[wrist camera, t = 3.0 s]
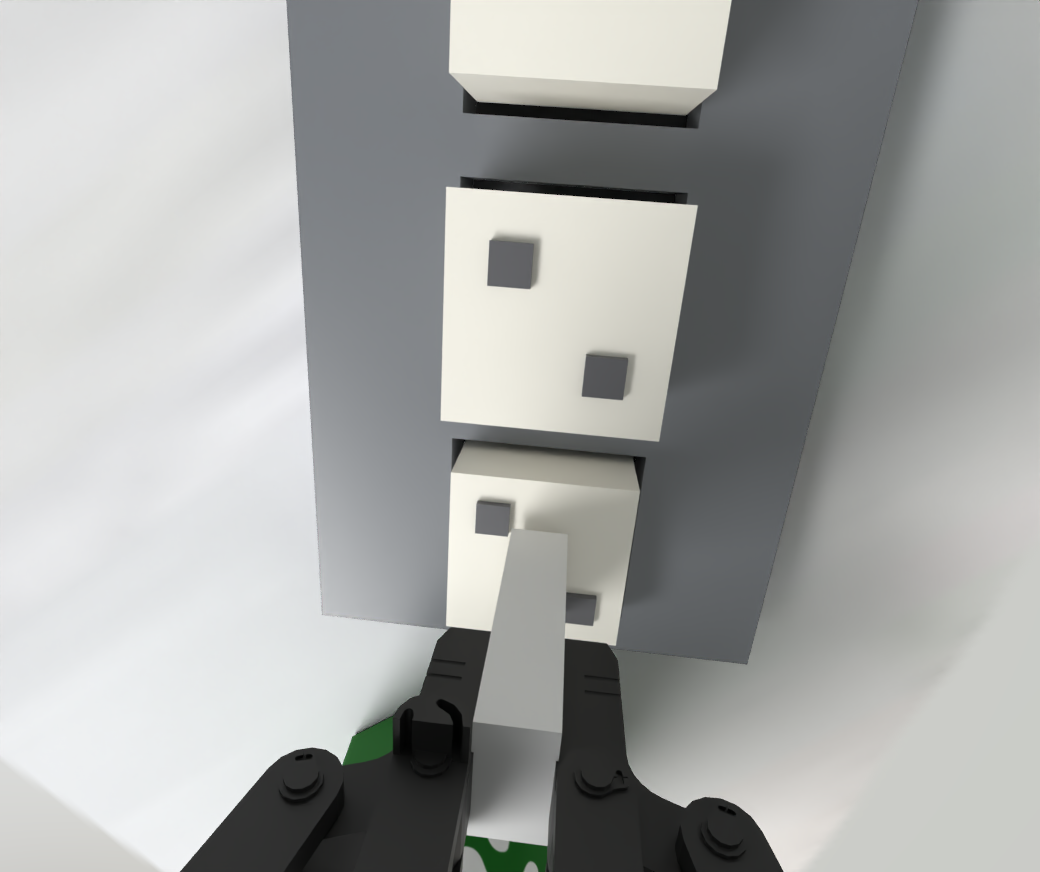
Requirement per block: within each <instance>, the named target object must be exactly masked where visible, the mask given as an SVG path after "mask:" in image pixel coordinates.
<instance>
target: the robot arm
mask: <svg viewBox="0 0 1040 872" xmlns="http://www.w3.org/2000/svg"><path fill="white" fill-rule="evenodd" d="M567 544H568V534H561V533H551V532H542V531H533V530H523V529H514V528H512V531H511V536H510V541H509V546H508V551H507V556H506V561H505V566H504V571H503V576H502V580H501V585H500V590H499V595H498V600H497V605H496V610H495V615H494V620H493V625H492V630H491V631H484V630H475V629H466V628H458V627H450V628H449V629H448V630H447V631H446V632H445V634H444V635H443V636H442V637H441V638H440V639H439V640H438V641H437V643H436V646H435V649H434V652H433V656H432V660H431V662H430V665H429V668H428V671H427V676H426V677H425V680H424V683H423V687H422V690H421V693H420V695H419V696H416V697H413V698H410V699H409V700H408V701H406V702H405V703H404V704H402V705H401V706H400V707H399V708H398V710H397V712H396V713H395V715H394V716H393V750H392V751H391V752H389V753H388V754H386V755H384V756H381V757H379V758H377V759H373V760H370V761H366V762H360V763H354V764H348V765H341V763H340V761H339V759H338V758H337V757H336V756H335V755H333V754H332V753H330V752H329V751H327V750H323V749H317V748H306V749H300V750H295V751H293V752H291V753H289V754H287V755H285V756H283V757H281V758H280V759H278V760H277V761H276V762H275V763H274V764H273V765H272V766H270V767H269V768H268V769H267V770H266V772H265V773H264V774H263V775H262V776H261V777H260V779H259V780H258V781H257V782H256V783H255V785H254V786H253V787H252V788H251V789H250V790H249V792H248V793H247V794H246V795H245V796H244V797H243V799H242V800H241V801H240V802H239V803H238V804H237V806H236V807H235V808H234V809H233V810H232V811H231V813H230V814H229V815H228V816H227V817H226V819H225V820H224V821H223V822H222V823H221V824H220V826H219V827H218V828H217V829H216V830H215V831H214V833H213V834H212V835H211V836H210V837H209V838H208V840H207V841H206V842H205V843H204V844H203V845H202V847H201V848H200V849H199V850H198V851H197V853H196V854H195V855H194V856H193V857H192V858H191V860H190V861H189V862H188V863H187V864H186V865H185V867H184V868H183V869H182V870H181V871H180V872H462V869H463V853H464V844H465V838H466V832H467V835H469V836H477V837H484V838H491V839H499V840H506V841H513V842H521V843H528V844H536V845H543V846H547V862H546V870H545V872H783V870H782V868H781V866H780V864H779V862H778V860H777V858H776V857H775V855H774V853H773V851H772V849H771V847H770V845H769V843H768V842H767V840H766V838H765V836H764V834H763V832H762V831H761V829H760V828H759V827H758V825H757V824H756V823H755V821H754V820H753V819H752V817H751V816H750V815H748V814H747V813H746V812H745V811H743V810H742V809H741V808H739V807H738V806H737V805H735V804H732V803H730V802H728V801H725V800H723V799H720V798H710V797H704V798H701V799H698V800H694V801H692V802H691V803H690V804H689V805H688V806H687V807H686V808H684V807H681V806H679V805H677V804H674V803H672V802H670V801H668V800H665V799H663V798H661V797H659V796H658V795H656V794H654V793H652V792H651V791H649V790H648V789H647V788H646V787H645V786H643V785H642V784H641V783H640V782H639V780H638V779H637V778H636V777H635V776H634V774H633V772H632V770H631V768H630V766H629V764H628V760H627V756H626V746H625V735H624V724H623V713H622V702H621V691H620V683H619V668H618V660H617V658H616V657H615V655H614V654H613V652H612V650H611V649H610V647H609V646H608V644H607V643H600V642H591V641H583V640H574V639H565V614H566V579H567Z"/></svg>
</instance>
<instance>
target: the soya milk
mask: <svg viewBox="0 0 1040 872" xmlns="http://www.w3.org/2000/svg"><path fill="white" fill-rule="evenodd" d="M392 750H393V716H392V717H390V718H388V719H386V720H384V721H382V722H380V723H378V724H376V725H374V726H372V727H370V728H368V729H366V730H364V731H362V732H360V733H358V734H357V735H354V736H353V737H352V740H351V743H350V745H349V748H348V751H347V754H346V756H345V759H344V762H343V765H348V764H354V763H360V762H366V761H370V760H373V759H377V758H379V757H381V756H384V755H386V754H388V753H389V752H391V751H392ZM546 862H547V846H543V845H536V844H528V843H521V842H513V841H506V840H499V839H491V838H484V837H477V836H469V835H467V832H466V838H465V844H464V853H463V869H462V872H545V870H546Z"/></svg>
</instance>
